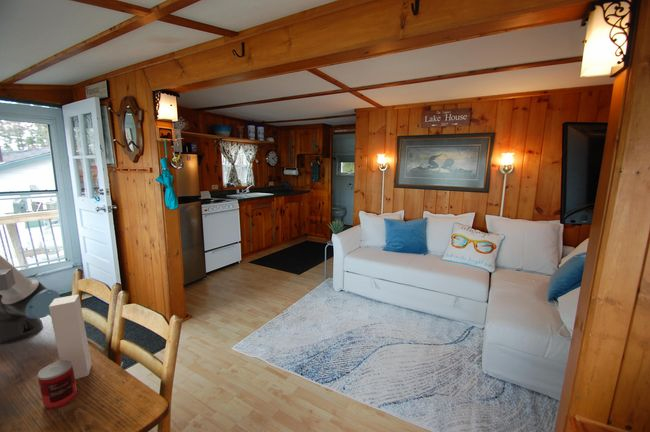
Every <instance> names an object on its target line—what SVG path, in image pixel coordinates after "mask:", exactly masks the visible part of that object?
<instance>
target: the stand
mask: <svg viewBox="0 0 650 432" xmlns="http://www.w3.org/2000/svg"><path fill="white" fill-rule="evenodd" d="M49 310H50V314H49V315H50V317H51V324H52V329H53V333H54V339H55V343H56V348H57V353H58V357H59V358H58V359H59V361H63V360H68V361H71V363H72V367H73V372H74V377H75V380H78V379H80V378H84V377H88V376H89V375H90V372H91V369H92V366H93V364H92V359H91V353H90V347H89V343H88V336H87V333H86V332H87V331H86V326H85V325H86V324H85V319H84V316H83V315H84V314H83V309H82V305H81V299H80V295H79V293H78V294H74V295H72V294H71V295H68V296H60V298H56V299H54V300H53V302H52V303H51V304H50V306H49Z"/></svg>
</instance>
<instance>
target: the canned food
mask: <svg viewBox="0 0 650 432" xmlns="http://www.w3.org/2000/svg"><path fill="white" fill-rule="evenodd" d="M37 382H38V385H39V390H40V394H41V398H42V403H43V406H44V407H45V409H49V410H51V409H54V410H55V409H58V408H61V407H63V406H65V405H67V404H68V403H70V402H71V401H73V400H74V399H75V397H76V396H77V393H78V389H77V383H76V379H75V377H74V372H73V367H72V363H71V361H68V360H63V361H60V360H59V361H54V362H52V363H50V364H48V365H46V366H44V367H43V368H41V369H40V370H39V372H37Z"/></svg>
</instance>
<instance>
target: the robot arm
mask: <svg viewBox="0 0 650 432" xmlns="http://www.w3.org/2000/svg"><path fill="white" fill-rule="evenodd" d="M6 269H12V271H13V275H14V279H15V284H14V285H13V286H12V287H11V288H10V289H8V290H2V291H0V345H6V344H7V345H8V344H12V343H15V342H19V341H22V340H25V339H28V338H30V337H32V336H34V335H36V334H37V333H38V332H40V331H41V330H42V329H43V328H44V323H43V321H42V320H41V319H42V318H45V317H47V316H49V315H50V310H49V306H50V304H51V303H52V302H53V300H54V299H56V298H61V296H60V294H59V292H58V291H57V290H55V289H53V288H47V287H46V286H45V285H44V284H42V283H41V282H40V281H39V280H38V279H34V278H33V279H29V278H28V277H26V276H25V275H24V274H23V273H22V272H21V271H19V270H18V268H16V267H15V266H14V265H12V264H11V263H10V262H9V261H7V260H6V258H4V257H3V256H2V255H0V270H6Z"/></svg>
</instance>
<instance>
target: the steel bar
mask: <svg viewBox="0 0 650 432" xmlns="http://www.w3.org/2000/svg"><path fill="white" fill-rule="evenodd" d="M14 284H15V279H14V275H13V271H12V269H6V270H0V291H2V290H8V289H10V288H11V287H12V286H13V285H14Z"/></svg>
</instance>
